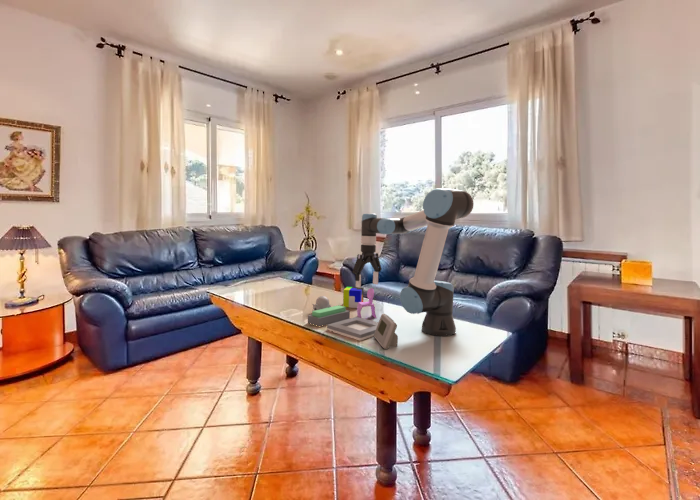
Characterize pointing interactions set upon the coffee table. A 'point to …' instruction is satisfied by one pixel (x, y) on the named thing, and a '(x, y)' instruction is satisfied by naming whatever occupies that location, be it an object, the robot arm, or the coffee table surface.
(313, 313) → the bar
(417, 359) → the coffee table surface
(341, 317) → the button housing
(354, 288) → the puzzle toy
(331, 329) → the grey flat square frame
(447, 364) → the coffee table surface
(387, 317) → the digital clock
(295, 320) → the coffee table surface
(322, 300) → the chubby cartoon animal
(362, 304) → the toy chair
